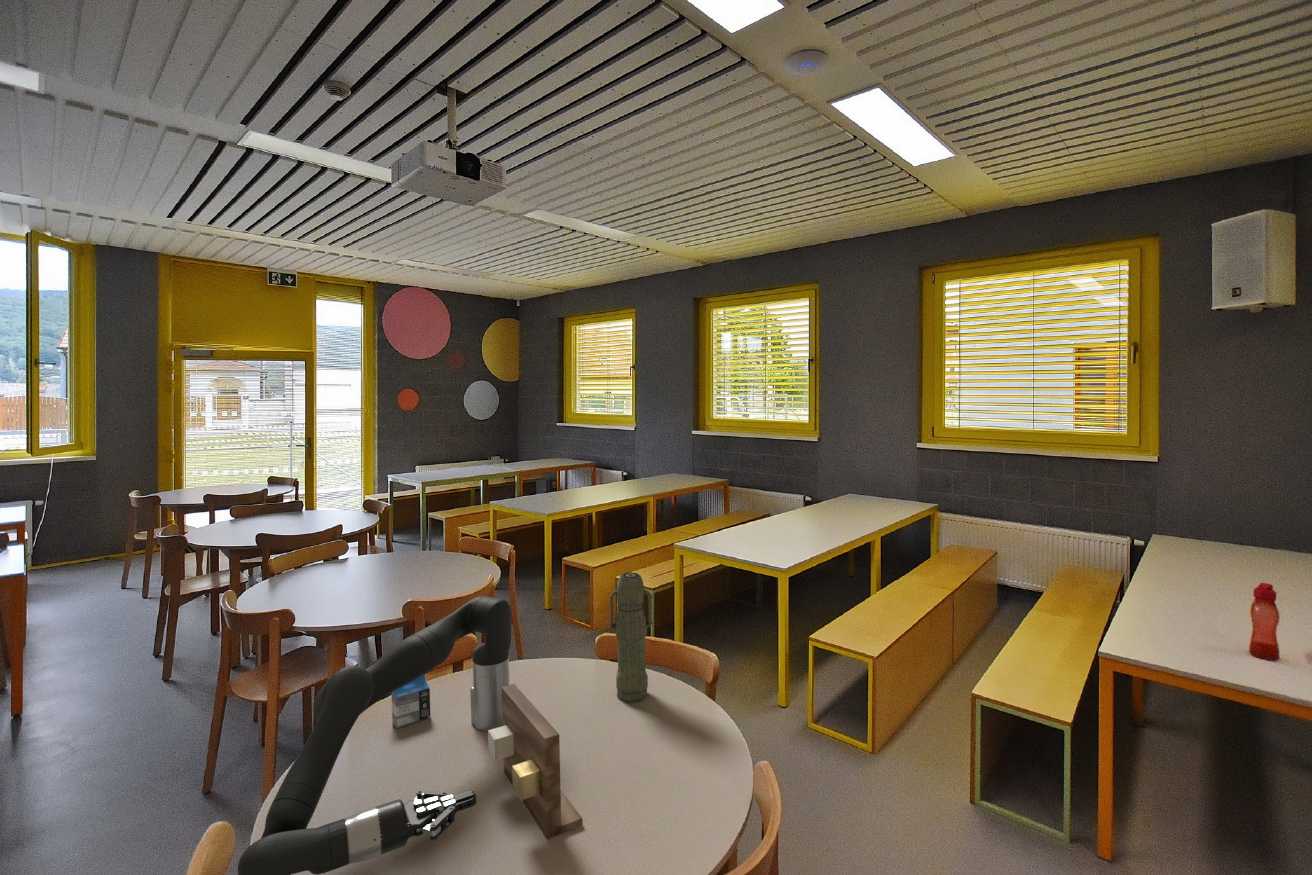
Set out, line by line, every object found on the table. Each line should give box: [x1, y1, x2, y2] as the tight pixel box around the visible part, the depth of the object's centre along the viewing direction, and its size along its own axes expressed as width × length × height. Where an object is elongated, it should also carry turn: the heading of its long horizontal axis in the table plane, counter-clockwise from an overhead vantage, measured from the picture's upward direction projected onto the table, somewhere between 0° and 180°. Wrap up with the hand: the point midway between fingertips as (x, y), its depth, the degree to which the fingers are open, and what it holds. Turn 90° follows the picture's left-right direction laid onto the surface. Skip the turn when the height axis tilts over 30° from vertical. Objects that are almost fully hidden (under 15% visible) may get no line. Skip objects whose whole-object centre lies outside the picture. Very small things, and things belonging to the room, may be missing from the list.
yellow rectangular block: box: [512, 759, 542, 801], centre depth 126 cm, size 8×5×5 cm, turn 122°
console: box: [501, 683, 583, 840], centre depth 135 cm, size 8×26×20 cm, turn 32°
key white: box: [487, 725, 514, 762], centre depth 139 cm, size 8×5×5 cm, turn 122°
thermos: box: [609, 571, 653, 704], centre depth 180 cm, size 9×12×35 cm
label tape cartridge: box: [391, 674, 432, 729], centre depth 168 cm, size 9×4×12 cm, turn 129°
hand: (474, 797), depth 120 cm, fingers closed
